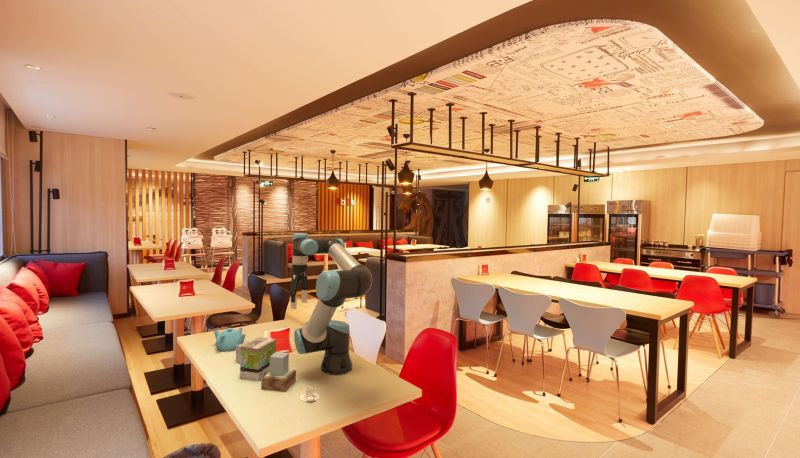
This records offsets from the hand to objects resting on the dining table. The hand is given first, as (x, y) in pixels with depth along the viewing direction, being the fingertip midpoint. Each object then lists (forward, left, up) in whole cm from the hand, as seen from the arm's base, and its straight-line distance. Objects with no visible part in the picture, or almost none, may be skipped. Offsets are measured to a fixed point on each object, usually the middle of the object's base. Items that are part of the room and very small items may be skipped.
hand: (298, 305), depth 204 cm
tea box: (+12, +18, -29) cm, 36 cm away
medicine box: (+26, +5, -29) cm, 39 cm away
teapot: (+44, -11, -29) cm, 54 cm away
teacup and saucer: (-18, +39, -29) cm, 52 cm away
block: (-3, +28, -23) cm, 36 cm away
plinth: (-3, +28, -29) cm, 40 cm away
